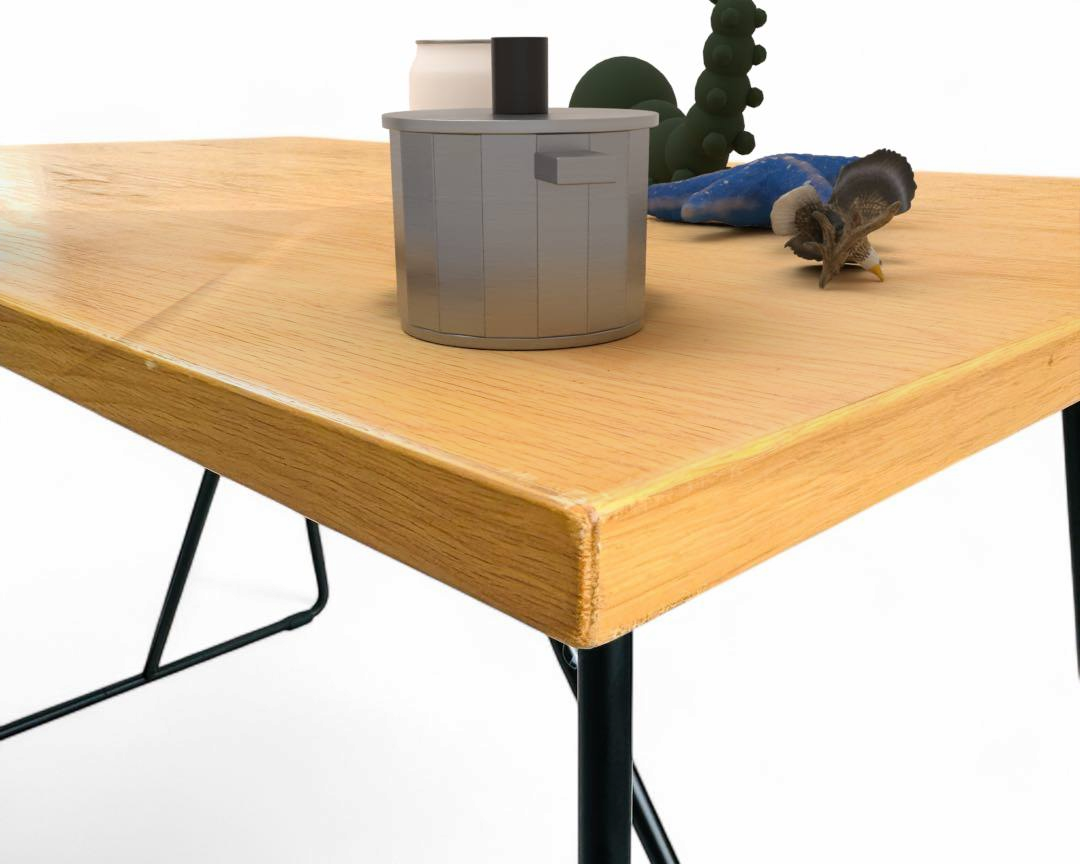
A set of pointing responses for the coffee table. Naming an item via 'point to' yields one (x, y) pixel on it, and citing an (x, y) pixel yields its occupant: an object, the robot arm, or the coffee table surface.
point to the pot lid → (519, 102)
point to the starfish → (745, 189)
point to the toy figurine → (719, 97)
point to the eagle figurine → (846, 213)
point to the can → (451, 75)
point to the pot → (520, 237)
